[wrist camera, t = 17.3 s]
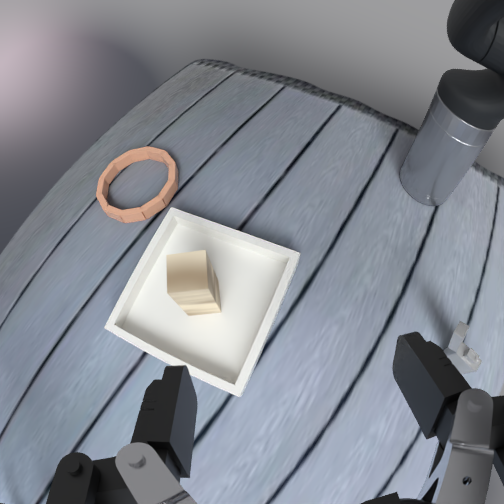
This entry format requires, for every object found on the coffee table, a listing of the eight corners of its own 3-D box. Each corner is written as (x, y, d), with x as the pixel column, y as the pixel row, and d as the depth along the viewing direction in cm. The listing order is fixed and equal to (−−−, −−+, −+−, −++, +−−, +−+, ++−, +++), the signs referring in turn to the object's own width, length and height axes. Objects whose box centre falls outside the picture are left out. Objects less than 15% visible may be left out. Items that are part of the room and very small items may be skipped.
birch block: (186, 284, 39) (166, 254, 31) (218, 281, 39) (205, 249, 31) (188, 315, 38) (167, 293, 30) (221, 312, 38) (208, 288, 30)
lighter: (464, 365, 33) (499, 356, 26) (458, 376, 33) (493, 368, 26) (431, 334, 36) (463, 319, 28) (424, 344, 35) (456, 331, 28)
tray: (176, 218, 44) (171, 207, 42) (298, 262, 41) (300, 253, 38) (114, 332, 38) (104, 327, 35) (241, 396, 34) (239, 397, 31)
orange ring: (130, 149, 51) (127, 141, 49) (193, 165, 48) (190, 156, 47) (88, 208, 46) (82, 201, 44) (150, 233, 44) (145, 226, 42)
